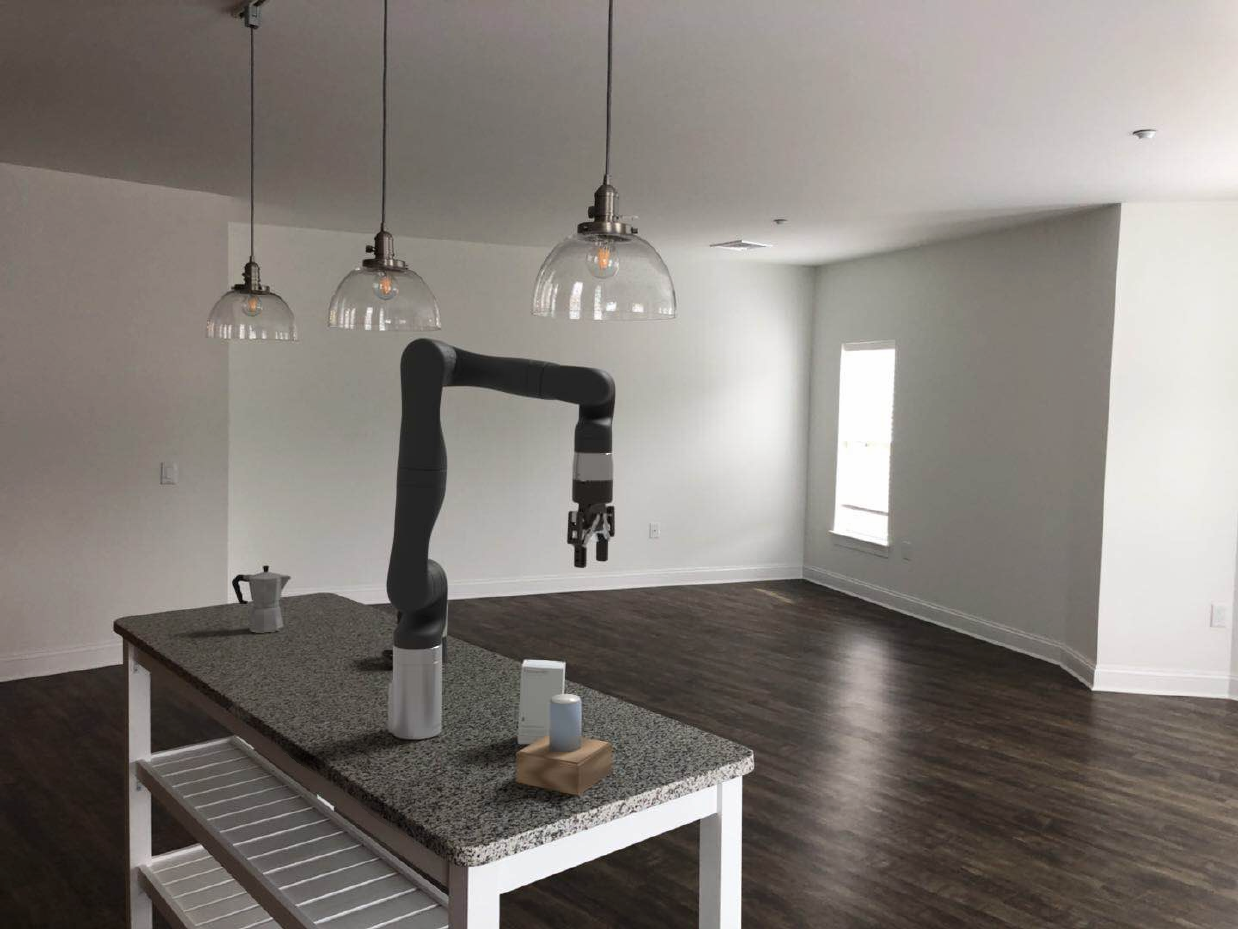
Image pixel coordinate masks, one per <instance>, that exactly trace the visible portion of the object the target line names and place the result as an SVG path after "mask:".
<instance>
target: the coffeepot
mask: <svg viewBox="0 0 1238 929" xmlns="http://www.w3.org/2000/svg"><path fill="white" fill-rule="evenodd" d="M269 568H270V566H269V565H266V564H265V565H263V566H262V570H263V571H262V572H259V573H255V574H237V575H236V576H235V577H234V578H233V579H232V581H231V586H232V588H233V591H234V592H235V595H236V598H237V601H238V603H239V604H240V605H248V602H249V601H248V600H244V599H243V596H244V595H243V593H242V591H241V585H240V583H239V582H244V583H245V582H246V583H248V585H249V586H248V587H249V591H250V592H249V593H250V598H251V601H252V602H253V603H252V604H253V607H251V612H250V618H249V623H248V628H250V629H251V630H256V631H268V630H276V629H279V628H281V627H284V622H283V616H282V611H281V606H280V602H279V601H280V600H281V598H282V592H283V590H284V588H285V587H286V585H287V583H288V582H289V580H291V579H292V577H291V576H290V575H287V574H281V573H276V572H271V571H269Z"/></svg>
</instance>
